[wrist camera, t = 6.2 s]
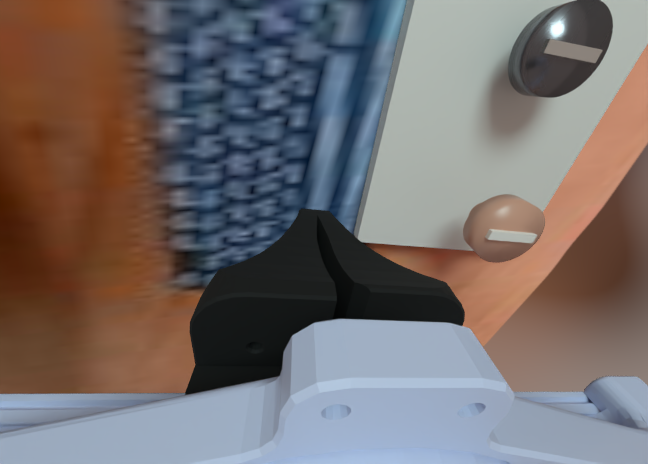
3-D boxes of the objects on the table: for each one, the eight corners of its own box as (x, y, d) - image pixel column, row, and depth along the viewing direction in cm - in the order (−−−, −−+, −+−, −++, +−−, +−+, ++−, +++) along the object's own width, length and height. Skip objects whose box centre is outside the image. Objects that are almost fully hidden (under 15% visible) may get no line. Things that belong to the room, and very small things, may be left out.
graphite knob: (538, 99, 18) (582, 103, 15) (480, 89, 17) (515, 91, 15) (578, 18, 16) (638, 5, 13) (513, 4, 15) (562, -13, 12)
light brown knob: (494, 241, 21) (525, 267, 18) (443, 236, 20) (466, 263, 17) (523, 189, 19) (563, 209, 16) (466, 182, 18) (497, 202, 15)
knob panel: (506, 245, 27) (516, 254, 25) (353, 233, 24) (356, 241, 23) (658, -15, 17) (688, -22, 15) (424, -75, 14) (436, -90, 13)
